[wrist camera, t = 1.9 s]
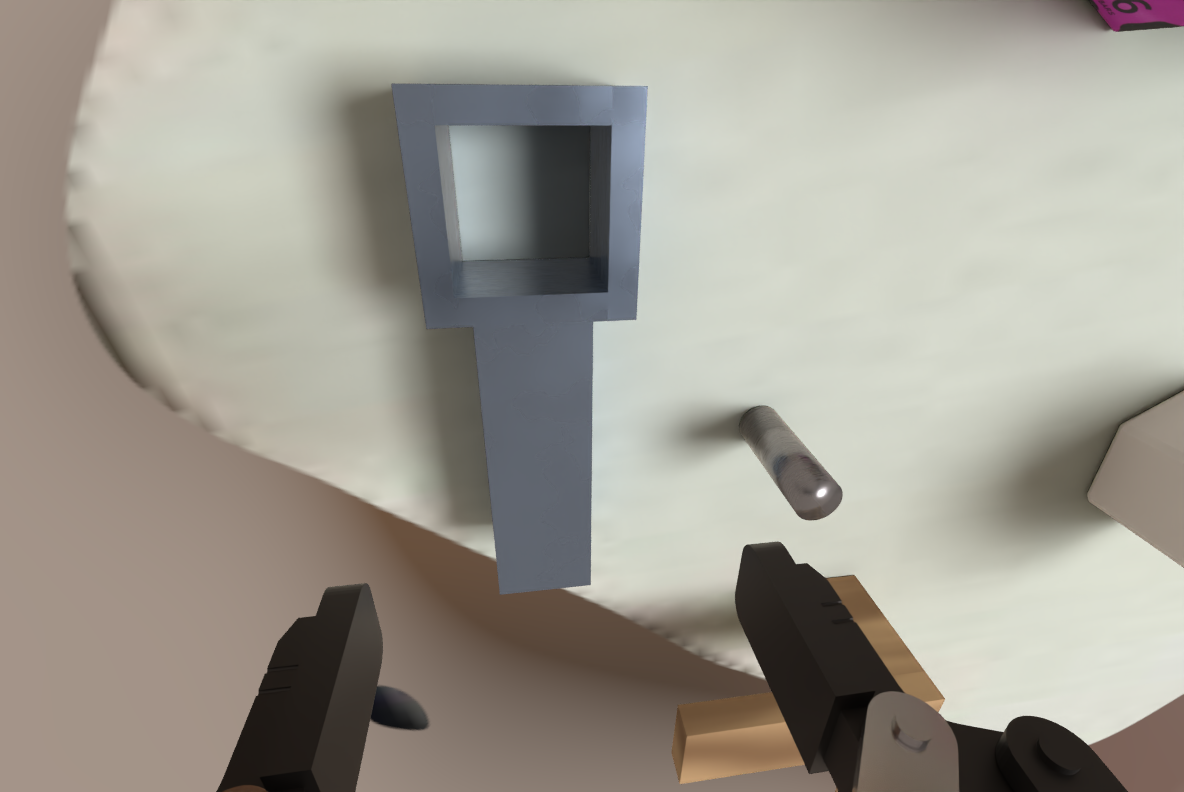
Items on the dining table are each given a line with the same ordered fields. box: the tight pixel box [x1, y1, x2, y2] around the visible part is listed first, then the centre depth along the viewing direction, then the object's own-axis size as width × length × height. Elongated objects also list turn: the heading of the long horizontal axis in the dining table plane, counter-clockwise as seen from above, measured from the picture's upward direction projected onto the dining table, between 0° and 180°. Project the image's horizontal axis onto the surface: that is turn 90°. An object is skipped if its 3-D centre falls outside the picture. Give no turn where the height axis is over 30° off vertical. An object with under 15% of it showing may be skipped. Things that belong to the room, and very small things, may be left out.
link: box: [391, 84, 648, 594], centre depth 22 cm, size 20×7×4 cm, turn 0°
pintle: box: [739, 406, 842, 520], centre depth 25 cm, size 2×2×6 cm
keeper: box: [672, 575, 945, 784], centre depth 31 cm, size 4×13×8 cm, turn 90°
